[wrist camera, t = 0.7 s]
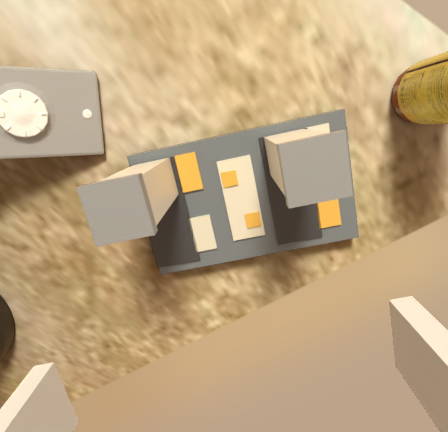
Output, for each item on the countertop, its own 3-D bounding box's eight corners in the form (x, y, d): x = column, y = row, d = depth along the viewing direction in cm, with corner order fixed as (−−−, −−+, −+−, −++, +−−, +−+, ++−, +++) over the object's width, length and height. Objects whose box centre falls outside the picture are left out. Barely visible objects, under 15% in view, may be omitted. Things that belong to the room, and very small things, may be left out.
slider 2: (268, 177, 36) (288, 208, 23) (261, 135, 35) (278, 145, 22) (310, 168, 36) (353, 195, 23) (304, 126, 34) (345, 130, 22)
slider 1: (141, 203, 37) (96, 246, 25) (130, 163, 36) (76, 187, 23) (180, 195, 37) (154, 235, 24) (170, 155, 36) (137, 174, 23)
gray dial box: (106, 155, 37) (-65, 163, 30) (98, 151, 42) (-50, 157, 35) (98, 69, 34) (-89, 58, 28) (90, 75, 39) (-69, 68, 33)
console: (164, 267, 42) (159, 276, 39) (132, 154, 38) (125, 156, 36) (352, 231, 40) (360, 238, 38) (338, 109, 36) (346, 109, 34)
